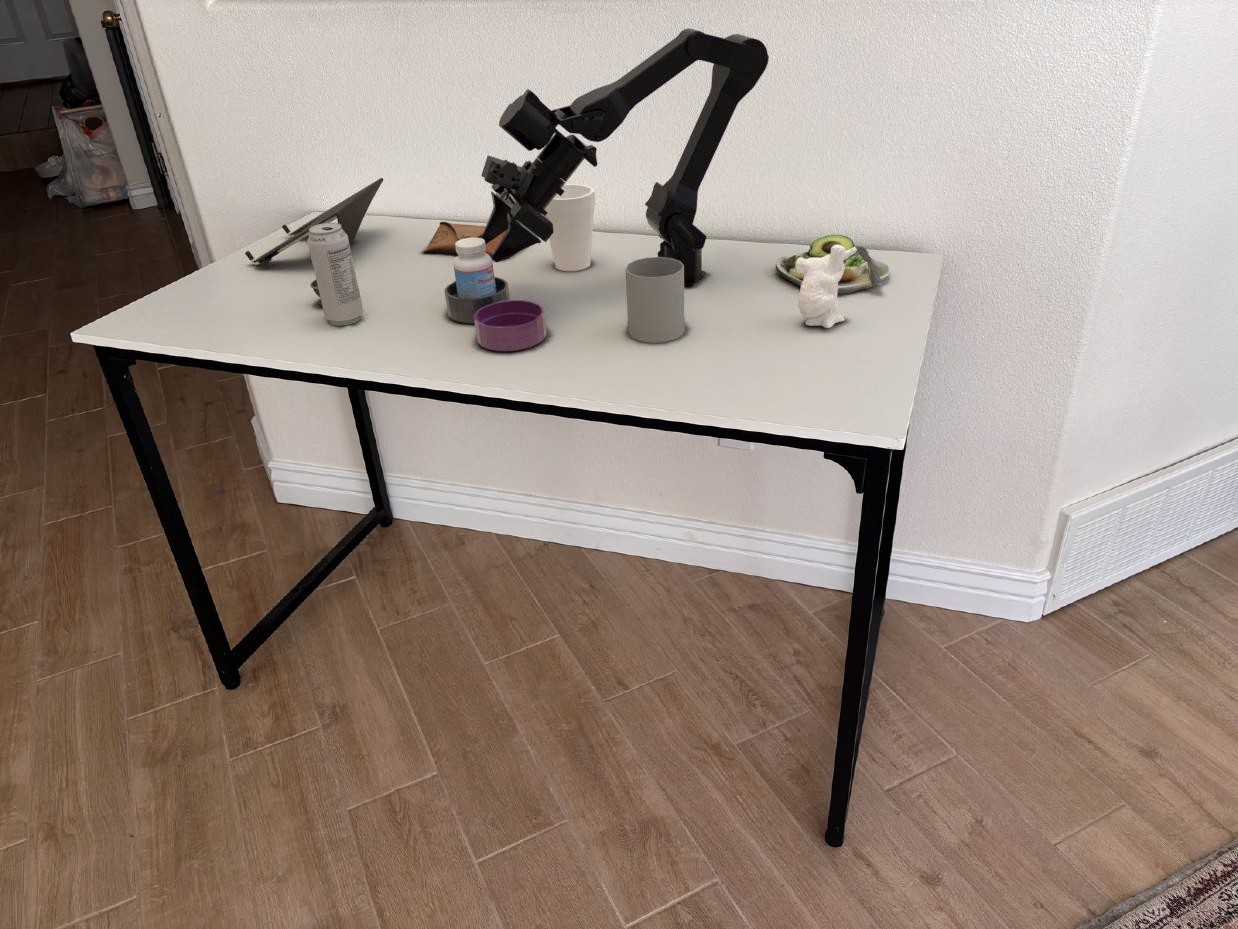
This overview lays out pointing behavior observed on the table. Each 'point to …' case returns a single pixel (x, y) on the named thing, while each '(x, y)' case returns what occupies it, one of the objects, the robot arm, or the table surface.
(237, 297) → the table surface
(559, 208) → the foam cup
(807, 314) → the white figurine
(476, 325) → the plum bowl
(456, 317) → the charcoal bowl
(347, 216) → the laptop stand
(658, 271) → the cup
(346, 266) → the energy drink can
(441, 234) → the sunglasses case
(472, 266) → the pill bottle
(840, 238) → the salad plate
